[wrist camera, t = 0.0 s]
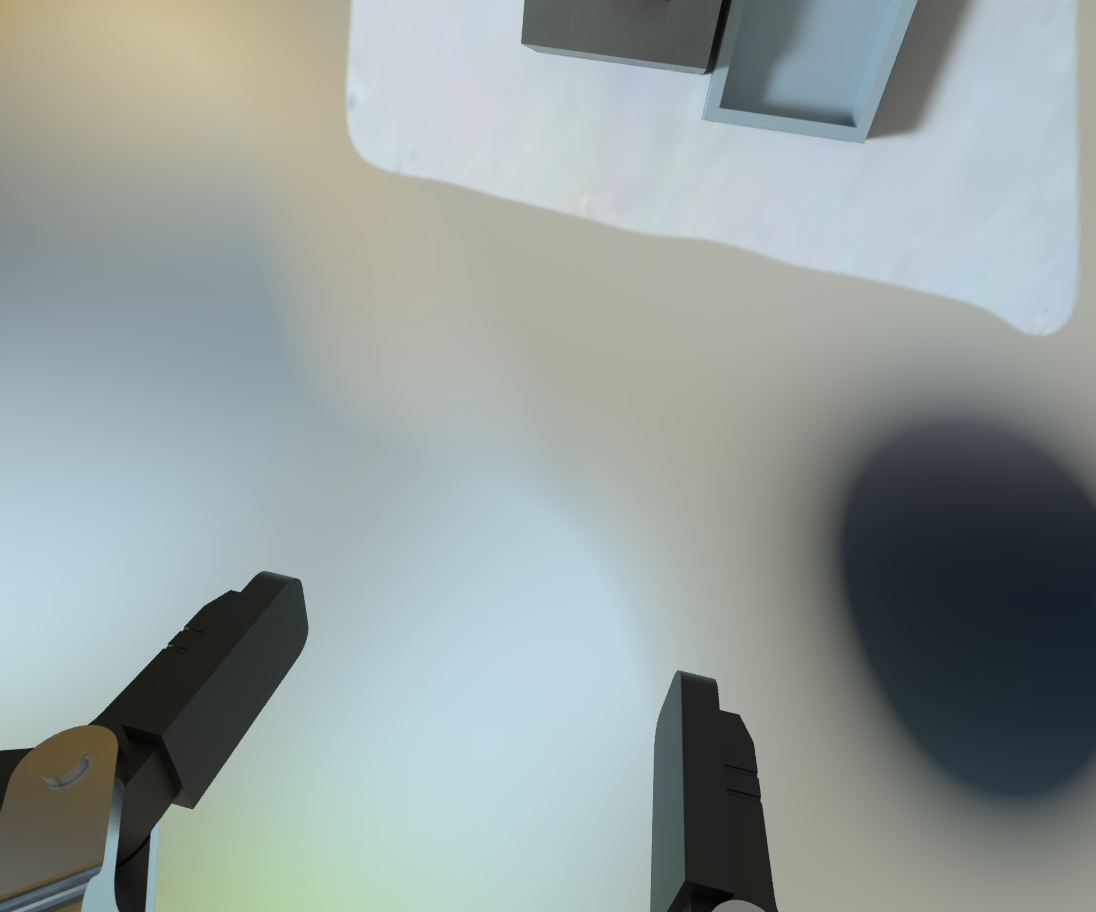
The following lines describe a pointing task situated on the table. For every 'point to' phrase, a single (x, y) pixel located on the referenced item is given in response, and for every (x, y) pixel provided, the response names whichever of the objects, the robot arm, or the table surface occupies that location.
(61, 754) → the robot arm
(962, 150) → the table surface
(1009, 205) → the table surface
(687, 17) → the block
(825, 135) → the tray
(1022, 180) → the table surface
